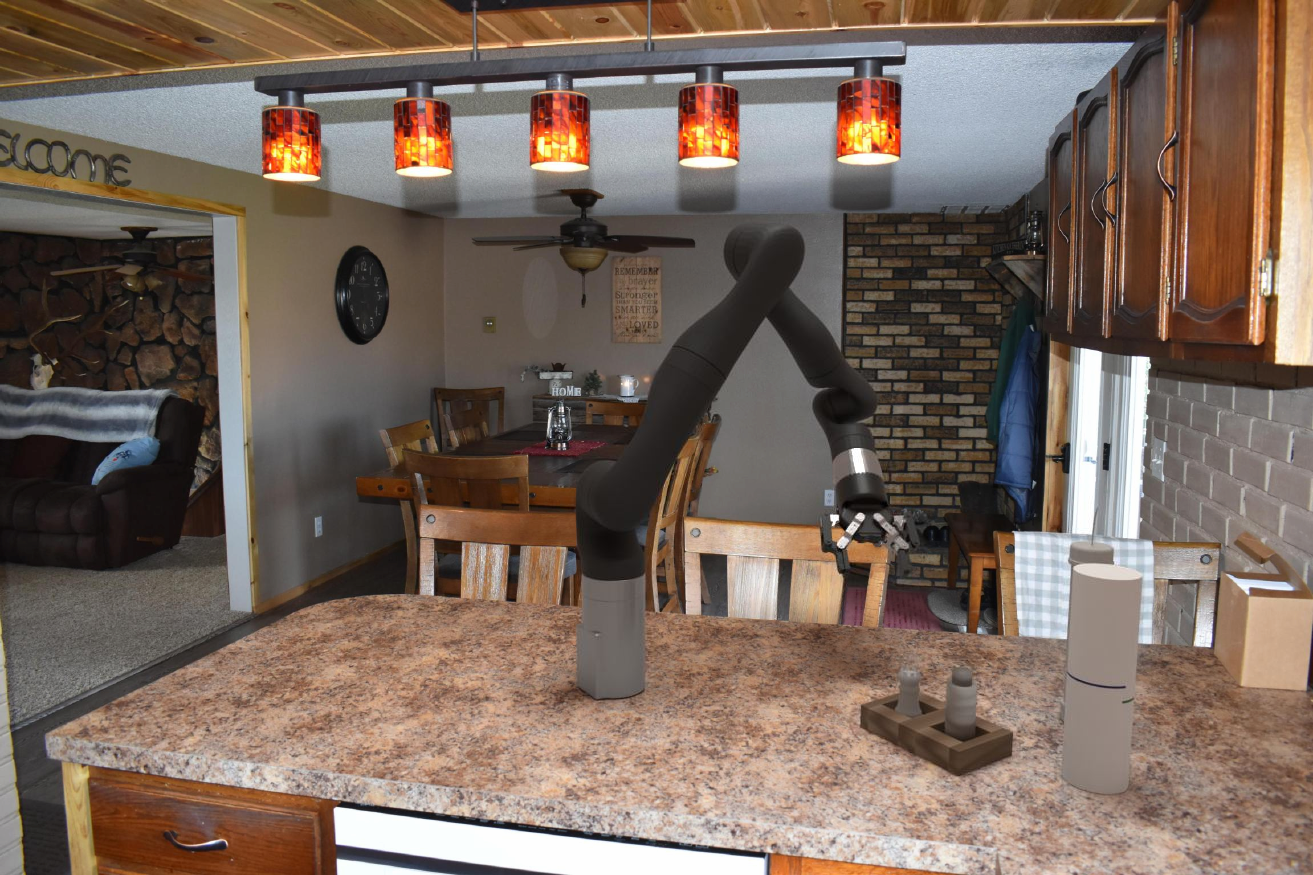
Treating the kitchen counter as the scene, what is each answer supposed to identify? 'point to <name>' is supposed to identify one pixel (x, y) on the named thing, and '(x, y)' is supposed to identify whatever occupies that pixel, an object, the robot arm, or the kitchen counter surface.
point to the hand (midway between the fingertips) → (876, 575)
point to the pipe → (1078, 555)
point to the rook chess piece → (909, 692)
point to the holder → (942, 727)
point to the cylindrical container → (1101, 677)
